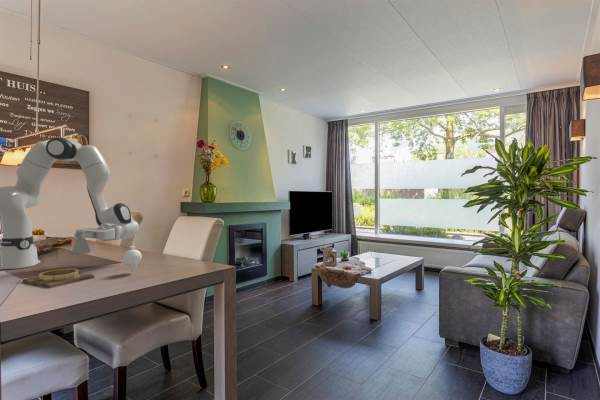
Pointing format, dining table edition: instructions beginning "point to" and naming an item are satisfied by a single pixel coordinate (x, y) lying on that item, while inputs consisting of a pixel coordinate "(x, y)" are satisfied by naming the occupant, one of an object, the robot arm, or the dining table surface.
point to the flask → (80, 245)
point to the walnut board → (57, 283)
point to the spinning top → (132, 258)
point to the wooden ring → (67, 275)
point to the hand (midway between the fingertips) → (78, 235)
